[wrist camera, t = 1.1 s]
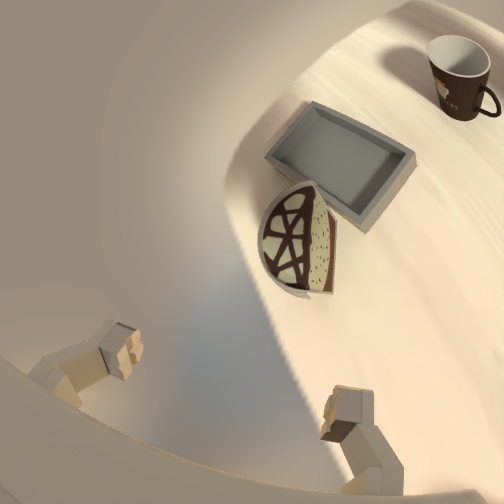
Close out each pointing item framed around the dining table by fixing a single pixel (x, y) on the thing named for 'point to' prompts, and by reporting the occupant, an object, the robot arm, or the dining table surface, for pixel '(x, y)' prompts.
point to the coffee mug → (460, 76)
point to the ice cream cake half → (299, 241)
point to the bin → (344, 163)
